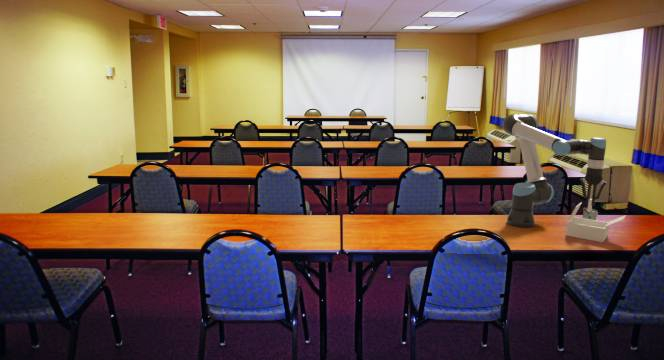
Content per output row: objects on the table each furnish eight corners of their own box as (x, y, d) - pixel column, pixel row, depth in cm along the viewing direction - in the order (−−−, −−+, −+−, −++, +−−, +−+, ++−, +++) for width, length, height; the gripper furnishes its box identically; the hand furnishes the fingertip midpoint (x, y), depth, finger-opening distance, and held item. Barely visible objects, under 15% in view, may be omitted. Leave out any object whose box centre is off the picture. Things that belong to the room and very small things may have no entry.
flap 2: (621, 220, 257) (622, 220, 257) (625, 215, 267) (626, 215, 267) (604, 226, 262) (605, 227, 262) (608, 221, 272) (609, 222, 272)
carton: (565, 235, 273) (567, 222, 272) (571, 229, 285) (573, 216, 284) (602, 242, 263) (604, 228, 261) (607, 236, 275) (609, 222, 273)
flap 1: (581, 202, 279) (581, 202, 279) (576, 207, 269) (575, 206, 269) (574, 216, 282) (573, 215, 283) (568, 221, 273) (568, 220, 273)
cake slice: (599, 230, 285) (601, 213, 283) (587, 229, 286) (589, 212, 284) (592, 224, 296) (594, 208, 294) (581, 223, 298) (583, 207, 296)
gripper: (579, 166, 268) (574, 210, 272) (607, 170, 260) (601, 214, 265) (582, 165, 274) (577, 207, 278) (610, 168, 266) (604, 211, 271)
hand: (589, 211), depth 272 cm, fingers closed
